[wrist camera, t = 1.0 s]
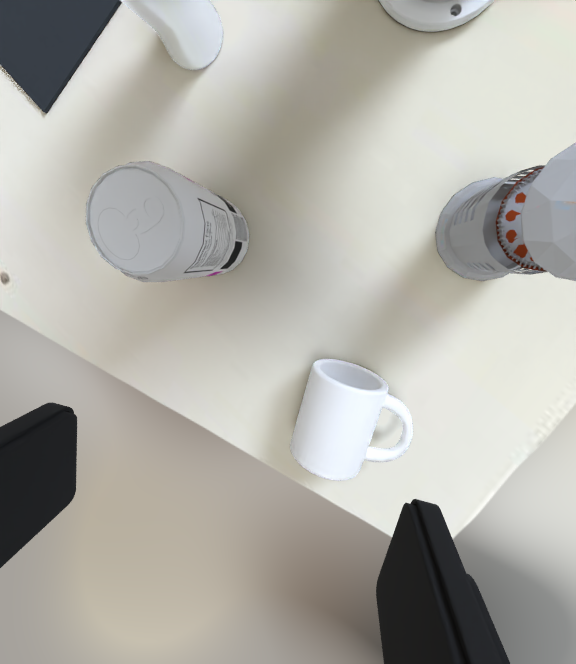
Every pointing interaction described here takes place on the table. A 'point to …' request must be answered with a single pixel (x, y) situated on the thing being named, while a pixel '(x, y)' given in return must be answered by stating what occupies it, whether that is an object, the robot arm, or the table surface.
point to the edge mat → (49, 41)
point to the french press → (514, 223)
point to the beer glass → (183, 28)
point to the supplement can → (163, 224)
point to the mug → (344, 420)
